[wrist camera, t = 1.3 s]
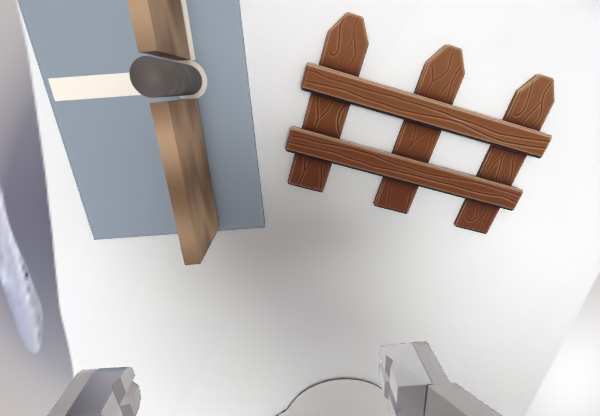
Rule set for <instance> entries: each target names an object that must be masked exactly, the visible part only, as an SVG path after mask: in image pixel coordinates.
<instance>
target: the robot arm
mask: <svg viewBox="0 0 600 416" xmlns="http://www.w3.org/2000/svg"><path fill="white" fill-rule="evenodd" d="M379 355H380V358H381V361H382V362H381V363H380V365H379V376H380V383H381V388H382V389H381V388H379V387H377V386H375V385H373V384H370V383H368V382H364V381H359V380H351V379H341V380H332V381H327V382H324V383H321V384H318V385H315V386H313V387H311V388H309V389H308V390H306V391H304V392H303V393H302V394H300V395H299V396H298V397H297V398H296V399H295V400H294V401H293V403H292V404H291V405H290V407H289V408H288V409H287V410H286V411H285V412H283V413H281V414H280V415H278V416H502V415H500V414H499V413H498V412H496V411H495V410H493V409H492V408H490V407H489V406H488V405H486V404H485V403H483V402H482V401H480V400H479V399H478V398H476V397H475V396H473V395H472V394H471V393H469V392H468V391H466V390H465V389H463V388H462V387H461V386H459V385H458V384H456V383H450V381H449V379H448V378H447V376H446V374H445V372H444V370H443V369H442V367H441V365H440V363H439V361H438V360H437V358H436V356H435V354H434V352H433V351H432V349H431V347H430V345H429V344H428V343H427V342H426V341H424V342H413V343H402V344H392V345H381V346H380V354H379ZM134 376H135V374H134V371H133V369H132V368H131V367H119V368H101V369H89V370H82V371H80V372H79V373H78V374H77V375H76V376H75V378H74V379H73V380H72V382H71V383H70V385H69V386H68V388H67V389H66V390H65V392H64V393H63V395H62V396H61V397H60V399H59V400H58V401H57V403H56V404H55V406H54V407H53V408H52V410H51V411H50V413H49V414H48V415H47V416H136V414H137V412H138V410H139V405H140V400H141V394H140V389H139V385H137V384H136V383H135V382H133V381H132V380H133V378H134Z"/></svg>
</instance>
